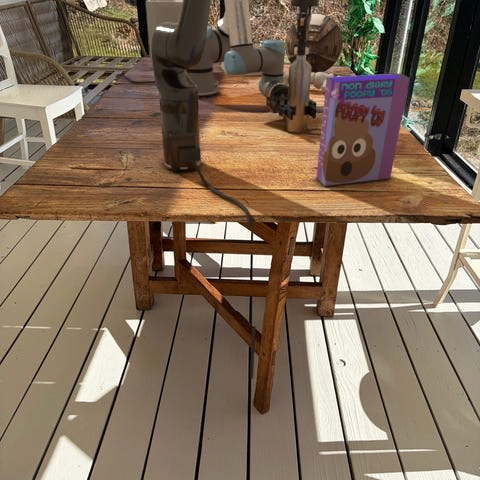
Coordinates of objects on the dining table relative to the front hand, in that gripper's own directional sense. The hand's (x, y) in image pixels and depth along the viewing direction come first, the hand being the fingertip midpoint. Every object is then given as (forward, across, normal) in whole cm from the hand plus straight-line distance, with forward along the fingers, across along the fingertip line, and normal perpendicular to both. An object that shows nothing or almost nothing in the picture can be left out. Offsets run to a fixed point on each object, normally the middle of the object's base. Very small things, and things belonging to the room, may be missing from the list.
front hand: (301, 53), depth 137 cm
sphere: (+22, +81, 0) cm, 84 cm away
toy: (+22, +51, -5) cm, 56 cm away
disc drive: (+22, +78, +28) cm, 86 cm away
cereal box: (+23, -35, -17) cm, 45 cm away
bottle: (+22, 0, 0) cm, 22 cm away
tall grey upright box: (+21, +82, +65) cm, 107 cm away
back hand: (+16, -5, -2) cm, 17 cm away
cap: (-1, 0, 0) cm, 1 cm away
